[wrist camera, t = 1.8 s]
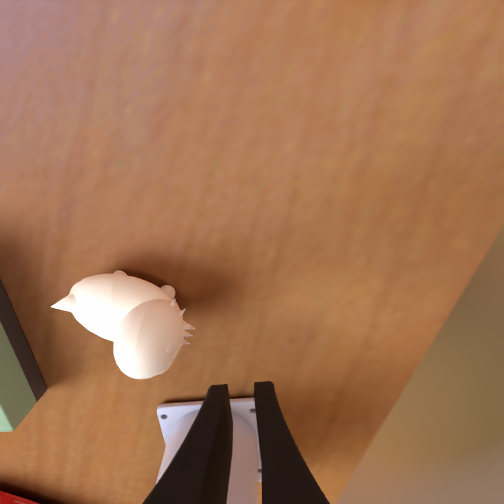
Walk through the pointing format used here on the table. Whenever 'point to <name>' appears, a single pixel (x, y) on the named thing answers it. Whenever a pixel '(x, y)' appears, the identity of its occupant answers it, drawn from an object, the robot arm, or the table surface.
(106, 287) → the toy creature
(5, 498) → the candy bar
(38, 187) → the table surface
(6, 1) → the table surface
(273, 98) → the table surface
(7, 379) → the block
